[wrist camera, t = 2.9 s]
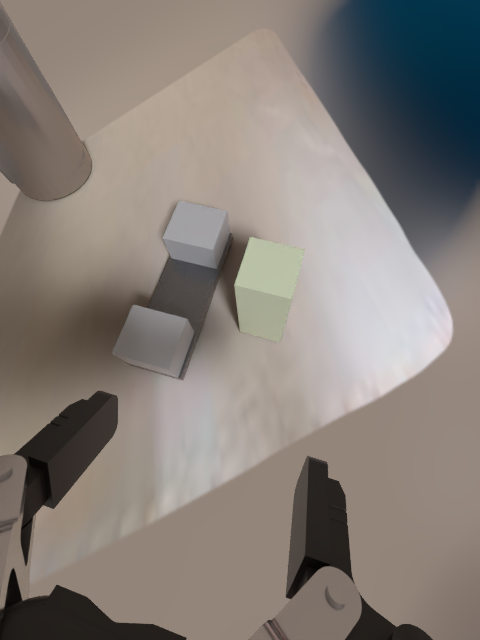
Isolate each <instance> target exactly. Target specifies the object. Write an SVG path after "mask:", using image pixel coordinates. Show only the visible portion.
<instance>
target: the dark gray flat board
mask: <svg viewBox="0 0 480 640" xmlns="http://www.w3.org/2000/svg"><path fill="white" fill-rule="evenodd" d="M232 240H233V237H232V234H231V233H230V234H229V237H228V240H227V243H226V245H225V248H224V251H223V254H222V257H221V259H220V262H219V265H218V268H217V269H215V268H210V267H206V266H202V265H198V264H194V263H190V262H185V261H181V260H177V259H173V258H171V256H170V257H169V259H168V262H167V264H166V266H165V269H164V271H163V273H162V276H161V278H160V280H159V283H158V285H157V288H156V290H155V292H154V295H153V297H152V299H151V302H150V304H149V307H148V309H152V310H156V311H160V312H164V313H167V314H171V315H175V316H179V317H182V318H186V319H188V321H189V323H190V325H191V326H192V328H193V330H194V335H193V338H192V340H191V343H190V346H189V349H188V352H187V354H186V357H185V360H184V363H183V366H182V368H181V371H180V374H179V377H178V378H177V377H174V376H171V375H167V374H164V373H160V372H157V371H154V370H150V369H147V368H143V367H140V366H137V365H133V364H130V363H127V362H126V363H127V364H129V365H132V366H136V367H139V368H143V369H146V370H149V371H153V372H156V373H160V374H163V375H166V376H170V377H173V378H177V379H180V380H183V379H184V376H185V373H186V371H187V368H188V365H189V362H190V359H191V356H192V354H193V351H194V348H195V345H196V342H197V339H198V337H199V334H200V331H201V328H202V325H203V322H204V319H205V317H206V314H207V311H208V308H209V305H210V302H211V300H212V297H213V294H214V291H215V288H216V285H217V282H218V280H219V277H220V274H221V271H222V268H223V265H224V263H225V260H226V257H227V254H228V251H229V248H230V246H231V243H232Z"/></svg>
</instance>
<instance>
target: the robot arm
mask: <svg viewBox="0 0 480 640" xmlns="http://www.w3.org/2000/svg"><path fill="white" fill-rule="evenodd" d="M91 167H92V164H91V158H90V156H89V154H88V152H87V151H86V149H85V147H84V145H83V144H82V142H81V140H80V139H79V137H78V135H77V133H76V132H75V130H74V128H73V126H72V125H71V123H70V121H69V119H68V117H67V116H66V114H65V112H64V111H63V109H62V107H61V105H60V104H59V102H58V100H57V99H56V97H55V95H54V93H53V92H52V90H51V88H50V87H49V85H48V83H47V81H46V80H45V78H44V76H43V75H42V73H41V71H40V69H39V68H38V66H37V64H36V62H35V61H34V59H33V57H32V56H31V54H30V52H29V50H28V48H27V47H26V45H25V43H24V42H23V40H22V38H21V36H20V35H19V33H18V31H17V30H16V28H15V26H14V24H13V23H12V21H11V19H10V17H9V16H8V14H7V13H6V11H5V9H4V7H3V6H2V4H1V2H0V171H1V173H3V175H4V176H5V177H6V178H7V179H8V180H9V181H10V182H11V183H14V184H16V186H17V187H18V188H19V189H20V190H21V191H22V192H23V193H24V194H26V195H27V196H29V197H31V198H33V199H37V200H55V199H59V198H62V197H65V196H67V195H69V194H71V193H73V192H74V191H76V190H77V189H78V188H80V187H81V186H82V185H83V184H84V182H85V181H86V180H87V178H88V176H89V174H90V172H91ZM117 424H118V398H117V396H116V395H112V394H109V393H106V392H103V391H97V392H96V393H95V394H94V395H92V396H91V397H90V398H89V399H88V400H84V399H81V400H79V401H77V402H75V403H73V404H71V405H69V406H68V407H67V408H66V409H65V410H63V411H62V412H61V413H60V414H59V416H58V417H56V418H54V419H53V420H52V421H51V422H50V424H48V425H47V426H45V427H44V428H43V429H42V430H41V431H40V432H39V433H38V434H37V435H35V436H34V437H33V438H32V439H31V440H30V441H29V442H28V443H26V444H25V445H24V446H23V447H22V448H21V449H20V450H19V451H17V452H16V453H15V454H13V455H4V456H0V640H186V638H185V637H183V636H181V635H178V634H176V633H173V632H170V631H168V630H166V629H164V628H161V627H159V626H156V625H154V624H135V623H116V622H113V621H112V620H111V619H110V618H109V617H108V616H106V615H105V614H104V613H103V612H102V611H101V610H100V609H99V608H98V607H97V606H96V605H95V604H94V603H93V602H92V601H91V600H90V599H88V598H87V597H86V596H83V595H81V594H78V593H76V592H73V591H71V590H69V589H66V588H63V587H61V586H59V585H56V587H55V588H54V590H53V591H52V593H51V594H50V596H38V597H34V598H29V593H30V584H29V573H30V563H31V554H32V546H33V537H34V529H35V520H36V513H37V511H38V510H39V509H40V508H41V507H42V506H43V505H45V506H47V507H50V508H53V509H54V508H55V507H56V505H57V504H58V503H59V502H60V501H61V499H62V498H63V497H64V496H65V494H66V493H67V492H68V491H69V490H70V488H71V487H72V486H73V485H74V483H75V482H76V481H77V480H78V479H79V477H80V476H81V475H82V474H83V472H84V471H85V470H86V469H87V467H88V466H89V465H90V464H91V463H92V461H93V460H94V459H95V458H96V456H97V455H98V454H99V453H100V452H101V450H102V449H103V448H104V447H105V445H106V444H107V443H108V442H109V440H110V439H111V438H112V437H113V435H114V433H115V431H116V428H117ZM286 598H289V599H291V600H290V601H289V602H288V603H287V604H286V606H285V607H284V608H283V609H282V610H281V611H280V612H279V613H278V614H277V615H276V616H275V617H274V618H273V619H272V620H268V621H267V622H265V623H264V624H263V625H262V626H261V627H260V628H259V629H258V630H257V631H256V632H255V633H254V634H253V636H251V637H250V639H249V640H432V639H431V637H430V636H428V634H426V633H425V632H424V631H423V630H421V629H420V628H418V627H416V626H413V625H411V624H402V625H400V626H398V627H396V626H395V625H393V624H392V623H391V622H389V621H388V620H387V619H385V618H384V617H383V616H381V615H380V614H379V613H377V612H376V611H375V610H374V609H372V608H371V607H370V606H369V605H368V604H367V603H366V602H365V601H364V599H363V598H362V596H361V595H360V593H359V592H358V590H357V588H356V586H355V583H354V581H353V578H352V572H351V561H350V549H349V537H348V525H347V513H346V500H345V494H344V492H343V490H342V488H341V485H340V483H339V481H336V480H333V479H330V478H328V464H327V462H325V461H322V460H319V459H316V458H313V457H309V456H307V458H306V460H305V463H304V466H303V468H302V471H301V474H300V476H299V479H298V482H297V485H296V489H295V494H294V504H293V516H292V528H291V540H290V551H289V564H288V576H287V589H286Z"/></svg>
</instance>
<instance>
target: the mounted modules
mask: <svg viewBox="0 0 480 640" xmlns="http://www.w3.org/2000/svg"><path fill="white" fill-rule="evenodd" d="M229 234H230V230H229V221H228V212H227V211H225V210H220V209H215V208H211V207H206V206H201V205H197V204H192V203H187V202H183V201H179V202H178V204H177V206H176V208H175V211H174V213H173V215H172V217H171V220H170V222H169V224H168V226H167V229H166V231H165V233H164V235H163V238H162V239H163V241H164V243H165V245H166V247H167V250H168V252H169V254H170V256H171V258H173V259H177V260H181V261H185V262H190V263H194V264H198V265H202V266H206V267H210V268H215V269H217V268H218V265H219V262H220V259H221V257H222V254H223V251H224V248H225V245H226V243H227V240H228V237H229ZM193 335H194V330H193V328H192V326H191V325H190V323H189V321H188V319H186V318H182V317H179V316H175V315H171V314H167V313H164V312H160V311H156V310H152V309H148V308H145V307H141V306H137V305H133V306H132V308H131V310H130V313H129V315H128V317H127V319H126V322H125V324H124V326H123V328H122V331H121V333H120V335H119V337H118V340H117V342H116V344H115V347H114V349H113V351H112V354H114V355H115V356H117V357H119V358H120V359H122V360H124V361H125V362H127V363H130V364H133V365H137V366H140V367H143V368H147V369H150V370H154V371H157V372H160V373H164V374H167V375H171V376H174V377H177V378H178V377H179V374H180V371H181V368H182V366H183V363H184V360H185V357H186V354H187V352H188V349H189V346H190V343H191V340H192V338H193Z"/></svg>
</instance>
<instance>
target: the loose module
mask: <svg viewBox="0 0 480 640" xmlns="http://www.w3.org/2000/svg"><path fill="white" fill-rule="evenodd" d="M304 251H305V249H302V248H298V247H293V246H289V245H284V244H280V243H275V242H271V241H266V240H262V239H257V238H253V237H250V239H249V242H248V245H247V248H246V251H245V254H244V257H243V260H242V263H241V266H240V269H239V272H238V275H237V278H236V281H235V284H234V287H235V295H236V303H237V311H238V320H239V328H240V332H243V333H247V334H251V335H254V336H258V337H262V338H266V339H269V340H273V341H277V342H280V340H281V337H282V333H283V330H284V326H285V323H286V319H287V315H288V312H289V308H290V305H291V301H292V297H293V294H294V290H295V286H296V282H297V278H298V274H299V270H300V266H301V262H302V259H303V255H304Z"/></svg>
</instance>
